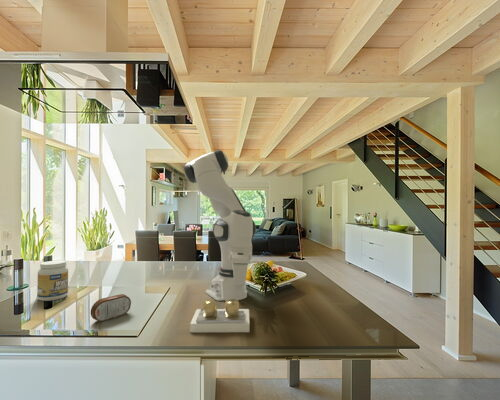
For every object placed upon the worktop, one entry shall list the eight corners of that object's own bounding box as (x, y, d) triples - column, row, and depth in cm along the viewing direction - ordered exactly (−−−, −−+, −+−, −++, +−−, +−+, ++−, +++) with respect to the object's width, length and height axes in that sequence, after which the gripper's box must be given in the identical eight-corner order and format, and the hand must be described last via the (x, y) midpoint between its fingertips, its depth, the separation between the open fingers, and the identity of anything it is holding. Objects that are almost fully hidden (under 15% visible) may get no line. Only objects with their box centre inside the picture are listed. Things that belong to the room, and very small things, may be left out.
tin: (128, 311, 119) (128, 291, 119) (132, 313, 117) (132, 293, 117) (90, 323, 108) (90, 300, 108) (93, 325, 106) (93, 302, 106)
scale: (190, 332, 100) (190, 321, 100) (196, 316, 114) (196, 306, 114) (249, 332, 100) (249, 320, 100) (248, 316, 114) (249, 306, 114)
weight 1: (204, 318, 102) (203, 305, 102) (202, 313, 107) (202, 300, 107) (218, 316, 104) (217, 303, 103) (215, 311, 108) (215, 298, 108)
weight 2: (222, 314, 106) (222, 301, 106) (232, 311, 109) (233, 298, 109) (230, 319, 102) (231, 305, 102) (241, 315, 105) (241, 301, 105)
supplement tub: (52, 302, 129) (52, 265, 130) (30, 300, 132) (30, 264, 132) (73, 294, 141) (74, 260, 142) (53, 292, 144) (53, 259, 144)
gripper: (232, 248, 117) (231, 281, 117) (231, 259, 97) (229, 299, 97) (247, 248, 117) (246, 282, 117) (249, 260, 97) (248, 300, 97)
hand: (238, 290), depth 107 cm, fingers open, 8 cm apart
